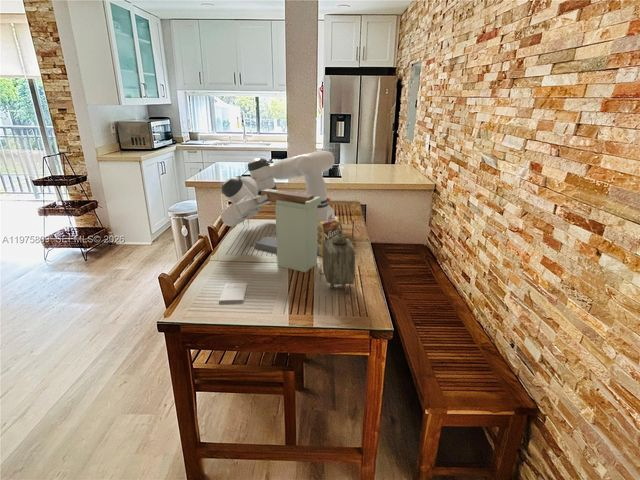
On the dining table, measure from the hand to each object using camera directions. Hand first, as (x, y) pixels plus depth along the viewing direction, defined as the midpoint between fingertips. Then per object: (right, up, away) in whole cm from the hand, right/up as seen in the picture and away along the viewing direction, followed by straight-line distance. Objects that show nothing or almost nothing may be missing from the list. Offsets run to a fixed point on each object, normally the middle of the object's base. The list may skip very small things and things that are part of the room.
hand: (271, 194), depth 150 cm
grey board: (+4, -23, +20) cm, 30 cm away
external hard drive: (-11, -38, -18) cm, 44 cm away
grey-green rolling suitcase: (+26, -36, -13) cm, 46 cm away
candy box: (+23, -24, +17) cm, 37 cm away
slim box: (+6, -4, -2) cm, 8 cm away
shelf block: (+10, -29, +5) cm, 31 cm away
